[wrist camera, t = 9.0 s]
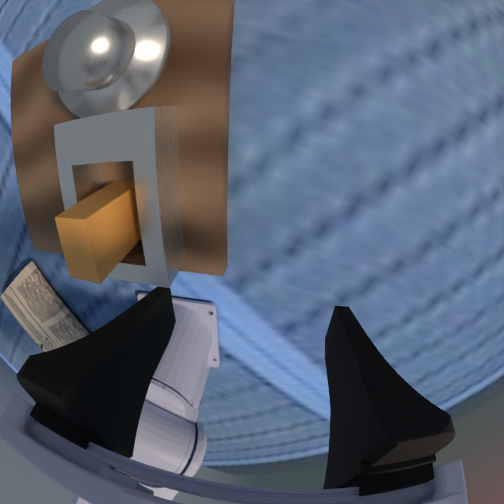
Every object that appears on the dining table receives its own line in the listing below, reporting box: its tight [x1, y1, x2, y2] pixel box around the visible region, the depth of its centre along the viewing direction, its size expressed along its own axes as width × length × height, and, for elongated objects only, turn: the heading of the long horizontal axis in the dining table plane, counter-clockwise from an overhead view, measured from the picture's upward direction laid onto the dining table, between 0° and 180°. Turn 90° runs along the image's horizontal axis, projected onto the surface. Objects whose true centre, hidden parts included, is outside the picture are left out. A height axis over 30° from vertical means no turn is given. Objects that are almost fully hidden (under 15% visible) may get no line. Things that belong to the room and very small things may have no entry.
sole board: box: [11, 0, 234, 276], centre depth 18 cm, size 21×22×2 cm
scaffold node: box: [42, 0, 185, 287], centre depth 14 cm, size 20×9×6 cm, turn 178°
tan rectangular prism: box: [55, 180, 142, 284], centre depth 16 cm, size 4×2×7 cm, turn 176°
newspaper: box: [1, 260, 90, 352], centre depth 35 cm, size 37×19×3 cm, turn 28°
